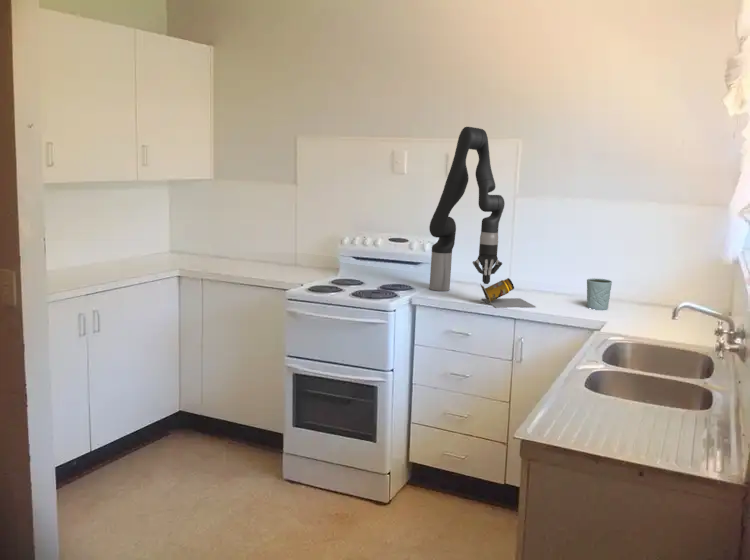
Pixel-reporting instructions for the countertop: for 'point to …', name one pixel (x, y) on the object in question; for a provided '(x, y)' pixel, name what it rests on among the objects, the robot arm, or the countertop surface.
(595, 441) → the countertop surface
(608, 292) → the green embossed plant pot
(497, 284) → the condiment
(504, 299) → the mat
